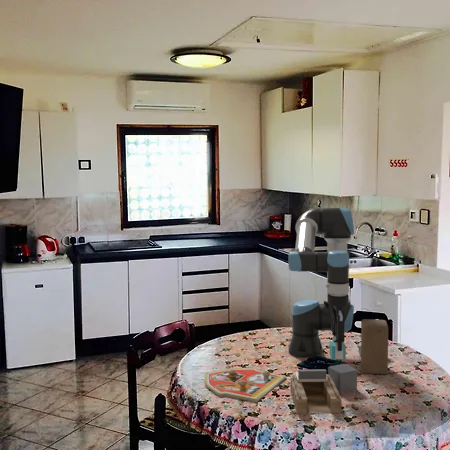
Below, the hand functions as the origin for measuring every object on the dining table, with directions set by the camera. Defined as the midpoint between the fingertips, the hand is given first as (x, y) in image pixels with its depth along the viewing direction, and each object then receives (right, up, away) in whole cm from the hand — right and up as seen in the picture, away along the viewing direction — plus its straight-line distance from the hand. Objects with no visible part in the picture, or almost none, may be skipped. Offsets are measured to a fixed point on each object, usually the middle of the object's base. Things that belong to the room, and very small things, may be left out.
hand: (337, 355), depth 202 cm
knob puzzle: (-36, -14, +12) cm, 41 cm away
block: (0, 0, 0) cm, 0 cm away
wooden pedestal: (-10, -15, -7) cm, 19 cm away
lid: (-10, -8, +1) cm, 13 cm away
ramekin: (+22, -10, +39) cm, 46 cm away
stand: (+3, -13, +5) cm, 15 cm away
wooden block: (+20, -11, +23) cm, 32 cm away
